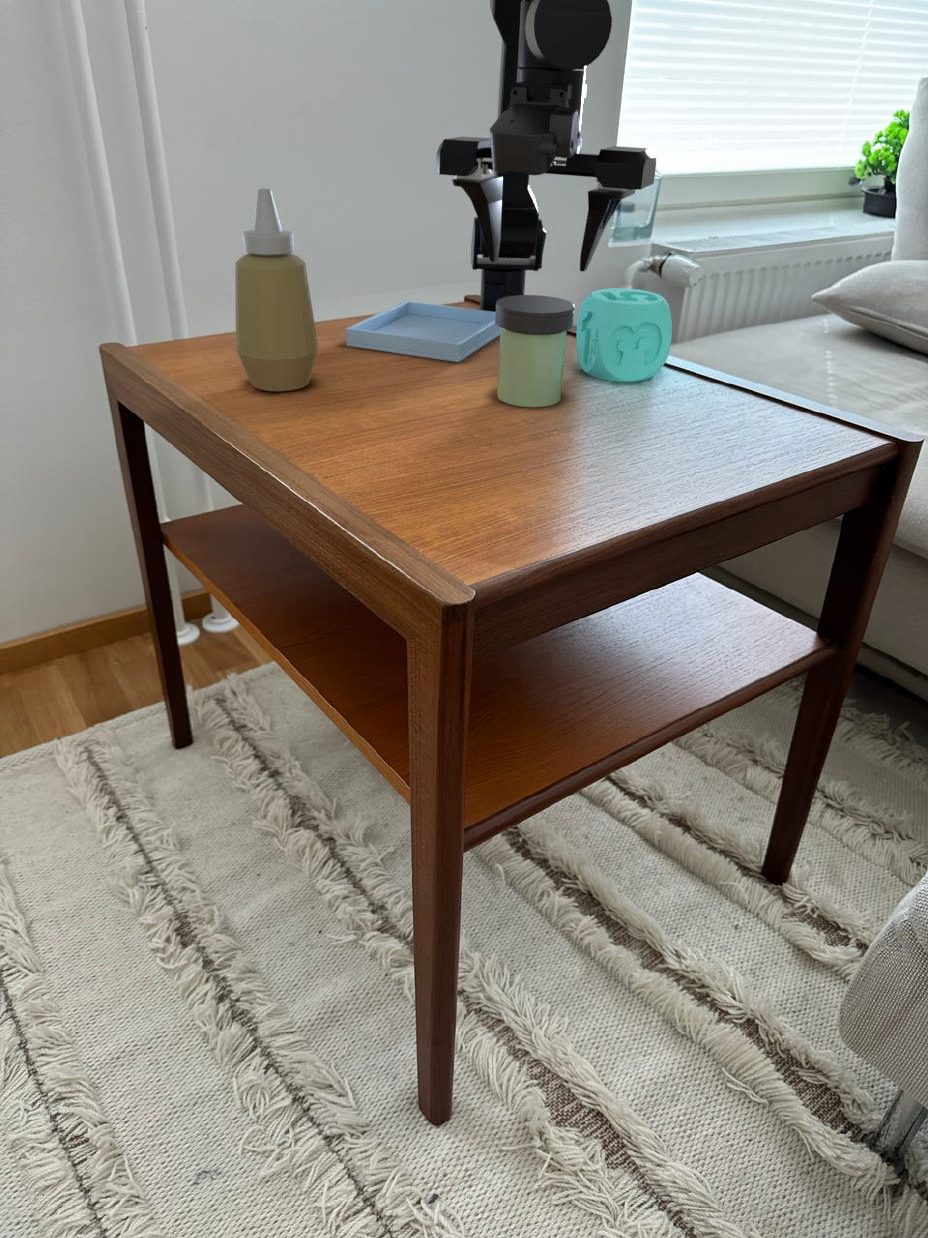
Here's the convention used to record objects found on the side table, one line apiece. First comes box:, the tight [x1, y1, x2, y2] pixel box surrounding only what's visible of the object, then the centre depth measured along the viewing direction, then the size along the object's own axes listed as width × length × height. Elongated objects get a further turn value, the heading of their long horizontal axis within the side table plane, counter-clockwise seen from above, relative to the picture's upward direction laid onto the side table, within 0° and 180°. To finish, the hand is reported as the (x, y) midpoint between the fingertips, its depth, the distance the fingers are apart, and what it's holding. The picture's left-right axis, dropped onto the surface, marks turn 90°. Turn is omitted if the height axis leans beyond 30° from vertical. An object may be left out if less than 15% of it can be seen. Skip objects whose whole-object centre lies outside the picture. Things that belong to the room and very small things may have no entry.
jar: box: [496, 327, 568, 408], centre depth 88 cm, size 6×6×9 cm
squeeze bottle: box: [234, 188, 319, 392], centre depth 86 cm, size 8×8×18 cm
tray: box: [345, 300, 500, 363], centre depth 107 cm, size 16×14×2 cm
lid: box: [495, 294, 575, 334], centre depth 86 cm, size 8×8×2 cm
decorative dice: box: [575, 287, 673, 383], centre depth 96 cm, size 8×8×8 cm
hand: (537, 265), depth 83 cm, fingers open, 8 cm apart
